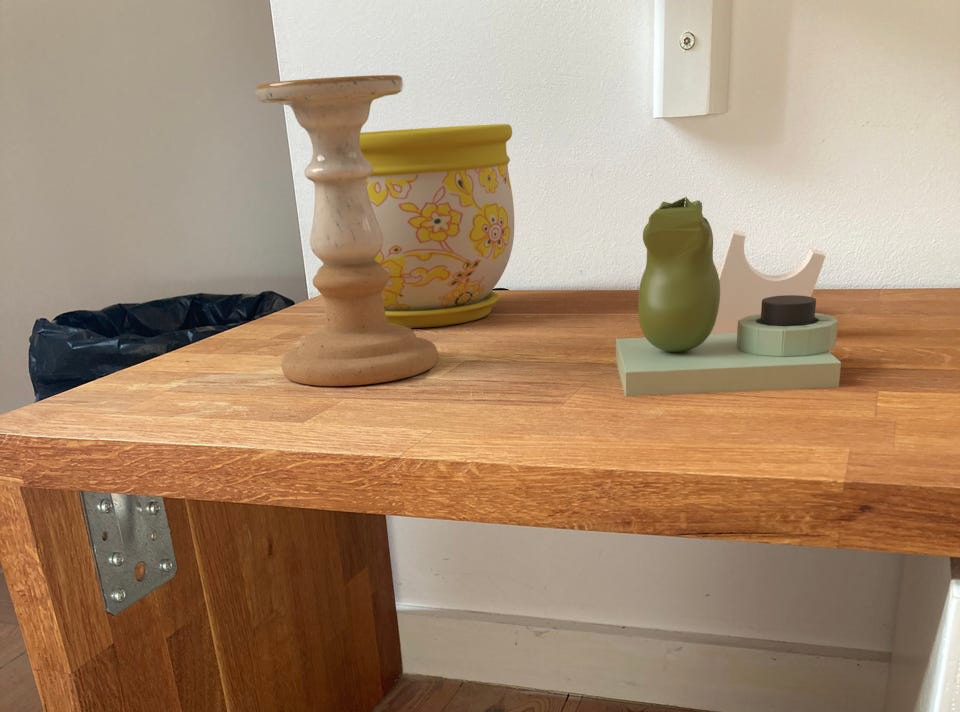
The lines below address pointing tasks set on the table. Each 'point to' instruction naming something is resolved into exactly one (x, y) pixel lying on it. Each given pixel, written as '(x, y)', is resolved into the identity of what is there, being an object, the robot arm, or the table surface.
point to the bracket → (757, 284)
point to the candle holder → (346, 240)
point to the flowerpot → (441, 220)
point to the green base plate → (735, 360)
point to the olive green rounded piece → (678, 278)
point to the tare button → (788, 310)
